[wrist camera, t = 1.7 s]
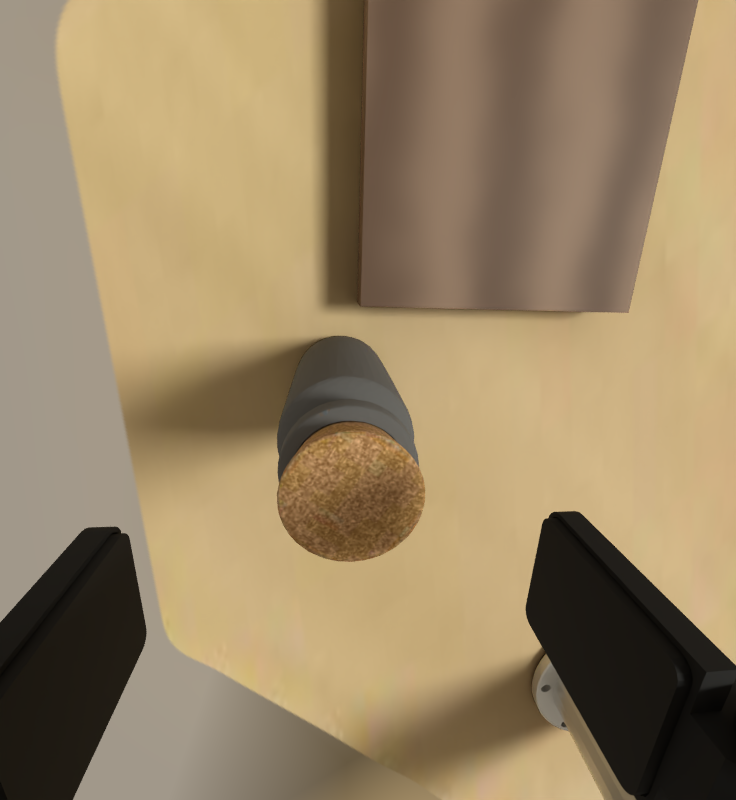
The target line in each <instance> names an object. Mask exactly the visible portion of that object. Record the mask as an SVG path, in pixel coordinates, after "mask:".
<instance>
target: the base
mask: <svg viewBox="0 0 736 800" xmlns="http://www.w3.org/2000/svg"><path fill="white" fill-rule="evenodd" d="M697 3H698V0H364V28H363V72H362V117H361V161H360V205H359V250H358V294H357V302H358V304H359V305H360V306H370V307H411V308H452V309H494V310H535V311H577V312H618V313H629V308H630V304H631V299H632V295H633V290H634V286H635V281H636V277H637V272H638V268H639V263H640V259H641V254H642V250H643V245H644V241H645V236H646V232H647V227H648V223H649V218H650V214H651V209H652V205H653V201H654V196H655V192H656V187H657V183H658V178H659V174H660V169H661V165H662V160H663V156H664V151H665V147H666V142H667V138H668V133H669V129H670V124H671V120H672V115H673V111H674V106H675V102H676V97H677V93H678V88H679V84H680V80H681V75H682V71H683V66H684V62H685V57H686V53H687V48H688V44H689V39H690V35H691V30H692V26H693V21H694V17H695V12H696V8H697Z"/></svg>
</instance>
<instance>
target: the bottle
mask: <svg viewBox="0 0 736 800" xmlns="http://www.w3.org/2000/svg"><path fill="white" fill-rule="evenodd" d="M277 448H278V453H279V461H278V479H279V487H278V492H277V504H278V511H279V515H280V518H281V521H282V523H283V525H284V527H285V529H286V530H287V532H288V533H289V535H290V536H291V537H292V538H293V539H294V540H295V541H296V543H298V544H299V545H301V546H302V547H303V548H305V549H306V550H307V551H309V552H311V553H313V554H315V555H318V556H320V557H323V558H326V559H330V560H335V561H348V562H352V561H361V560H366V559H370V558H374V557H377V556H380V555H382V554H384V553H386V552H388V551H390V550H391V549H393V548H395V547H396V546H397V545H398V544H400V543H401V542H402V541H403V540H404V539H405V538H407V537H408V535H409V534H410V533H411V532H412V530H413V529H414V527H415V526H416V524H417V523H418V521H419V518H420V516H421V514H422V511H423V507H424V502H425V486H424V480H423V477H422V474H421V471H420V469H419V462H418V454H417V451H416V448H415V444H414V431H413V426H412V421H411V418H410V415H409V412H408V410H407V408H406V406H405V404H404V402H403V400H402V398H401V397H400V395H399V393H398V391H397V389H396V387H395V385H394V383H393V381H392V380H391V378H390V376H389V374H388V373H387V371H386V369H385V367H384V366H383V364H382V362H381V360H380V359H379V357H378V356H377V354H376V353H375V352H374V351H373V350H372V349H371V348H370V347H369V346H368V345H367V344H365V343H364V342H362V341H360V340H358V339H355V338H352V337H347V336H333V337H329V338H326V339H323V340H321V341H319V342H317V343H315V344H314V345H313V346H311V347H310V348H309V349H308V350H307V351H306V353H305V354H304V355H303V357H302V358H301V360H300V362H299V365H298V367H297V370H296V373H295V375H294V378H293V382H292V385H291V388H290V391H289V394H288V397H287V400H286V403H285V406H284V409H283V412H282V416H281V419H280V423H279V428H278V433H277Z"/></svg>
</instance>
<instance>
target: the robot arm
mask: <svg viewBox="0 0 736 800" xmlns="http://www.w3.org/2000/svg"><path fill="white" fill-rule="evenodd" d="M526 615H527V619H528V622H529V624H530V626H531V628H532V630H533V631H534V633H535V635H536V637H537V638H538V640H539V642H540V644H541V645H542V647H543V649H544V651H545V653H546V654H545V655H544V657H543V658H542V659H541V661H540V663H539V664H538V666H537V668H536V670H535V673H534V676H533V680H532V694H533V698H534V701H535V703H536V705H537V707H538V709H539V711H540V713H541V714H542V716H543V717H544V718H545V719H546V720H547V721H548V722H549V723H551V724H552V725H554V726H556V727H558V728H560V729H563V730H566V731H569V732H570V734H571V736H572V738H573V740H574V742H575V744H576V746H577V748H578V750H579V752H580V754H581V756H582V757H583V759H584V761H585V763H586V765H587V767H588V769H589V771H590V773H591V775H592V777H593V779H594V781H595V783H596V785H597V786H598V788H599V790H600V792H601V794H602V796H603V798H604V800H736V665H735V664H734V663H733V662H732V661H731V660H730V659H729V658H728V657H726V656H725V655H724V654H723V653H722V652H721V651H720V650H719V649H718V648H717V647H716V646H715V645H714V644H713V643H712V642H711V641H710V640H709V639H708V638H707V637H706V636H705V635H704V634H703V633H702V632H701V631H700V630H699V629H698V628H697V627H696V626H695V625H694V624H693V623H692V622H691V621H690V620H689V619H688V618H687V617H686V616H685V615H684V614H683V613H682V612H681V611H680V610H679V609H678V608H677V607H676V606H675V605H674V604H673V603H672V602H671V601H670V600H669V599H668V598H666V597H665V596H664V595H663V594H662V593H661V592H660V591H659V590H658V589H657V588H656V587H655V586H654V585H653V584H652V583H651V582H650V581H649V580H648V579H647V578H646V577H645V576H644V575H643V574H642V573H641V572H640V571H639V570H638V569H637V568H636V567H635V566H634V565H633V564H632V563H631V562H630V561H629V560H628V559H627V558H626V557H625V556H624V555H623V554H622V553H621V552H620V551H619V550H618V549H617V548H616V547H615V546H614V545H613V544H612V543H611V542H610V541H609V540H607V539H606V538H605V537H604V536H603V535H602V534H601V533H600V532H599V531H598V530H597V529H596V528H595V527H594V526H593V525H592V524H591V523H590V522H589V521H588V520H587V519H586V518H585V517H584V516H583V515H582V514H581V513H579V512H576V511H569V512H553V513H551V514H550V516H549V518H548V519H545V520H544V521H543V524H542V528H541V533H540V538H539V543H538V548H537V553H536V558H535V563H534V568H533V573H532V578H531V583H530V588H529V593H528V598H527V603H526ZM145 640H146V625H145V619H144V614H143V608H142V603H141V598H140V592H139V587H138V582H137V576H136V571H135V566H134V560H133V555H132V549H131V544H130V539H129V536H128V535H127V534H125V533H122V534H121V530H120V529H119V528H118V527H92V528H86V529H84V530H83V531H82V532H81V533H80V534H79V535H78V536H77V537H76V538H75V540H74V541H73V542H72V543H71V544H70V545H69V546H68V547H67V548H66V550H65V551H64V552H63V553H62V554H61V555H60V556H59V557H58V559H57V560H56V561H55V562H54V563H53V564H52V565H51V566H50V568H49V569H48V570H47V571H46V572H45V573H44V574H43V575H42V577H41V578H40V579H39V580H38V581H37V582H36V583H35V584H34V585H33V587H32V588H31V589H30V590H29V591H28V592H27V593H26V594H25V595H24V597H23V598H22V599H21V600H20V601H19V602H18V603H17V604H16V606H15V607H14V608H13V609H12V610H11V611H10V612H9V613H8V614H7V616H6V617H5V618H4V619H3V620H2V621H1V622H0V800H73V798H74V796H75V793H76V791H77V789H78V787H79V785H80V783H81V781H82V778H83V776H84V774H85V772H86V770H87V768H88V765H89V763H90V761H91V759H92V757H93V755H94V753H95V751H96V748H97V746H98V744H99V742H100V740H101V738H102V735H103V733H104V731H105V729H106V727H107V725H108V723H109V721H110V718H111V716H112V714H113V712H114V710H115V708H116V706H117V703H118V701H119V699H120V697H121V695H122V693H123V690H124V688H125V686H126V684H127V682H128V680H129V678H130V675H131V673H132V671H133V669H134V667H135V664H136V663H137V660H138V658H139V656H140V654H141V652H142V649H143V647H144V644H145Z"/></svg>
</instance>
